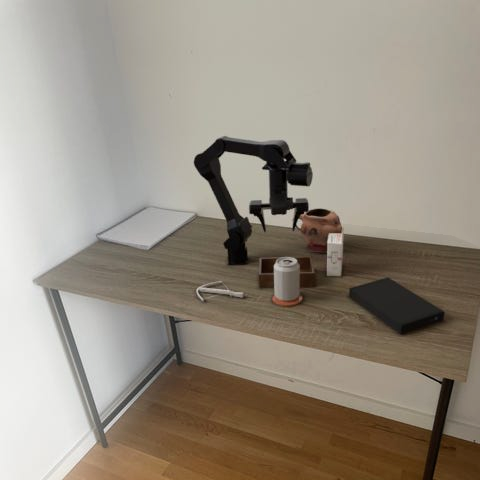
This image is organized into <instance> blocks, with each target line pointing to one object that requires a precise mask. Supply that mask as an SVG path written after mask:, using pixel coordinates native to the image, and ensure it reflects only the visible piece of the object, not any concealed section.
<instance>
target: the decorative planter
mask: <svg viewBox="0 0 480 480" xmlns="http://www.w3.org/2000/svg"><path fill="white" fill-rule="evenodd" d="M340 219H341V218H340V216H339V215H337V213H336V212H335V211H333V210H329V209H327V208H319V207H318V208H311V209H309V211H308V212H304V214H302V215H300V217H299V219H298V220H300V221H301V222H302V223H301V226H300V227H299V226H298V225H297V224H296V227H295V229H297V230H298V231H299V232H300V234H301V235H302V236H303V238H304V240H305V244H306V248H307V250H308V251H311V252H314V253H319V254H321V253H322V254H324V253H325V254H326V253H327V242H328V235H329V233H342V228H343V230H345V229H344V228H345V227H344V226H343V225H342V223H341V220H340Z"/></svg>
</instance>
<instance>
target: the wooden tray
mask: <svg viewBox="0 0 480 480" xmlns="http://www.w3.org/2000/svg"><path fill="white" fill-rule="evenodd" d="M282 257H283V256H277V257H276V256H275V257H259V260H258V261H259V263H258V288H259V289H274V265H275V264H276V260H277V259H279V258H282ZM291 257H292V258H295V259H296V260H297V263H298V264H299V266H300V281H299V288H311V287H312V288H313V287H315V284H316V283H315V281H316V280H315V279H316V277H315V275H316V272H315V267H314V261H313V256H311V255H310V256H309V255H308V256H307V255H306V256H291Z"/></svg>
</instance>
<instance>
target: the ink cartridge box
mask: <svg viewBox="0 0 480 480" xmlns="http://www.w3.org/2000/svg"><path fill="white" fill-rule="evenodd" d="M343 228H344V227H343ZM343 228H342V233H329V235H328V242H327V252H326V277H342V269H343V254H344V235H345V234H344V233H345V231H344V230H345V229H344V230H343Z"/></svg>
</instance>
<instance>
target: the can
mask: <svg viewBox="0 0 480 480" xmlns="http://www.w3.org/2000/svg"><path fill="white" fill-rule="evenodd" d="M281 257H282V258H279V259H277V260H276V264H275V265H274V288H273V289H274V294H275V297H276V298H278V299H279V300H281V301H286V302H287V301H293V300H295V299H296V298H297V297H298V296H299V293H300V287H299V281H300V266H299V264H298V263H297V260H296V259H295V258H292V257H293V256H281Z"/></svg>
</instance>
